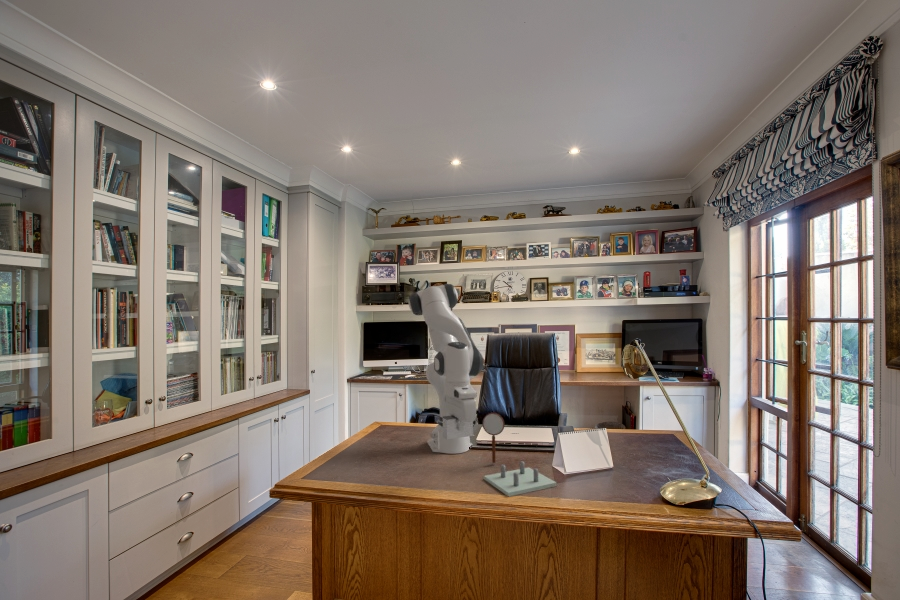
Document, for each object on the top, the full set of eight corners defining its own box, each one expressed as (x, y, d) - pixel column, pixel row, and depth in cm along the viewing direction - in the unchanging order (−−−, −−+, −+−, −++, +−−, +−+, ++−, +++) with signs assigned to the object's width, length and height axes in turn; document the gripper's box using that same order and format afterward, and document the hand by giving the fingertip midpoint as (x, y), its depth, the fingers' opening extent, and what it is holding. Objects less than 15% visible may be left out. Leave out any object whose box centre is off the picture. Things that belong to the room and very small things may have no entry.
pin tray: (484, 479, 148) (483, 464, 148) (528, 470, 156) (528, 456, 156) (508, 496, 133) (508, 480, 134) (556, 486, 141) (556, 470, 141)
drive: (442, 436, 145) (442, 416, 146) (468, 433, 149) (468, 413, 150) (447, 439, 142) (446, 418, 142) (473, 435, 146) (472, 415, 146)
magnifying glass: (482, 464, 163) (481, 412, 163) (483, 463, 164) (482, 411, 165) (504, 466, 160) (503, 413, 161) (505, 465, 162) (504, 412, 163)
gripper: (437, 385, 154) (437, 423, 154) (462, 394, 136) (462, 438, 135) (453, 384, 157) (453, 421, 157) (479, 393, 138) (479, 435, 138)
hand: (457, 429), depth 146 cm, fingers closed on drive, 3 cm apart
